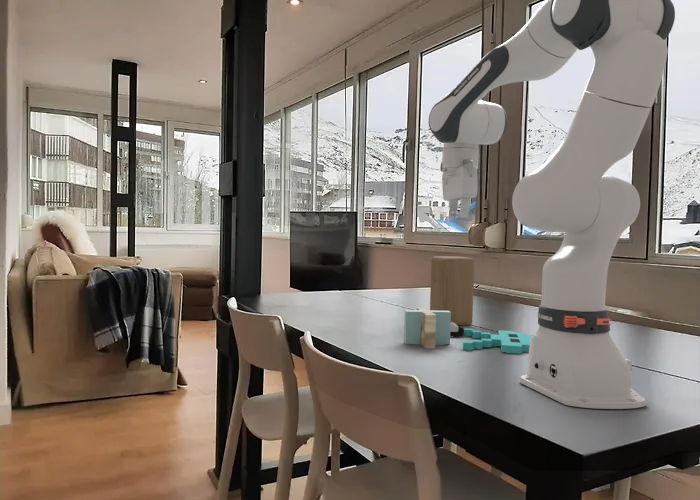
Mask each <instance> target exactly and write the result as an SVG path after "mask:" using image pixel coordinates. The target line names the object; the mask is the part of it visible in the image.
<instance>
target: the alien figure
mask: <svg viewBox="0 0 700 500" xmlns="http://www.w3.org/2000/svg"><path fill="white" fill-rule="evenodd" d="M463 328H464V335H463V337H467V336H472V340H462V351H471V350H472V351H473V350H474V349H473V348H477V349H476V350H483V347H491V348H492V347H496V346H501V347H500V350H501V353H502V352H506V354H517V353H518V354H520V355H522V354H523V353H529V347H530V340H531V338H532V337H533V336H534V335H535V334H533V335H532V334H526V333H525V332H523V333H522V332H516V330H502V329H501V330H500V329H499V330H498V331H497V332H498V333H497V334H492V333H491V332H488V331H487V332H486V331H485V332H484V331H483V332H482V330H477V329H476V330H474V329H473V328H465V327H463ZM475 338H481V339H475ZM518 354H517V355H518Z"/></svg>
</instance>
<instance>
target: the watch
mask: <svg viewBox="0 0 700 500" xmlns="http://www.w3.org/2000/svg"><path fill="white" fill-rule="evenodd" d="M464 328H465V327H462V326H460V325H456V324H455V323H452V322H451V325H450V336H453V337H452V338H461V337H464Z"/></svg>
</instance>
